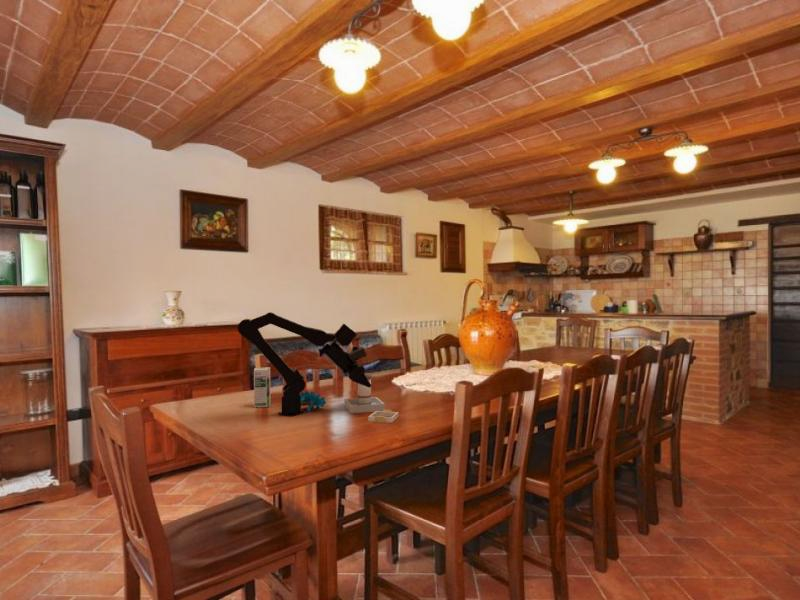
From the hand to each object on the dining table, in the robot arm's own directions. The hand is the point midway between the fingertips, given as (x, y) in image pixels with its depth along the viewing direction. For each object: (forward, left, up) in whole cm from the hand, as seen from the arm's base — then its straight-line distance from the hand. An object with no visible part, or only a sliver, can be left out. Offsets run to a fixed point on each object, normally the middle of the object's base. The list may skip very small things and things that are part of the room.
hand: (367, 384), depth 174 cm
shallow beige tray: (-11, -14, -9) cm, 20 cm away
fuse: (-1, +1, -8) cm, 8 cm away
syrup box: (-16, +37, -9) cm, 42 cm away
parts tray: (-1, +1, -9) cm, 9 cm away
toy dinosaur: (-12, +17, -9) cm, 23 cm away
